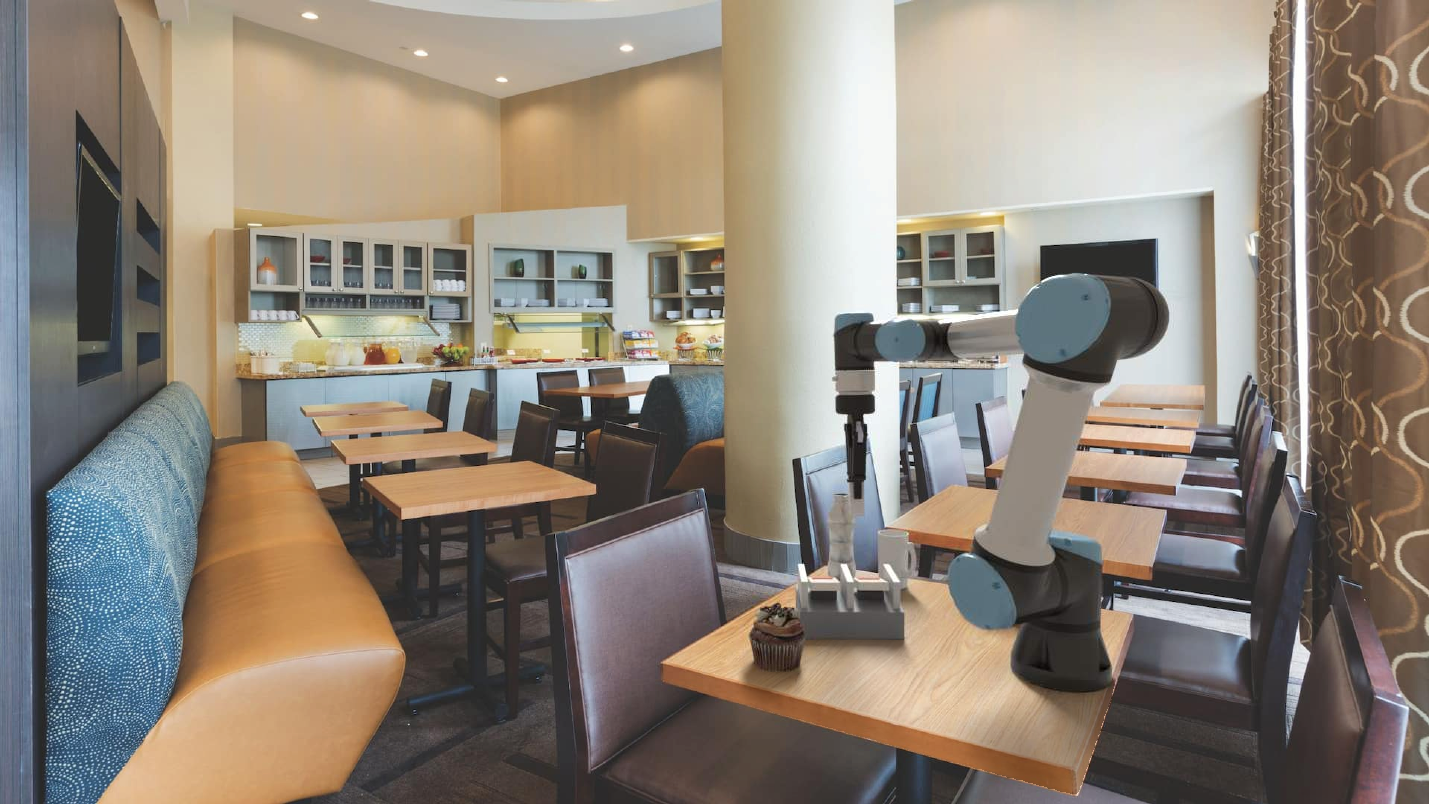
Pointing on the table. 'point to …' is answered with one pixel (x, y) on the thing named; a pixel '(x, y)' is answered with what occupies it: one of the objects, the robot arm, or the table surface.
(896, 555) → the mug
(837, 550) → the plastic bottle
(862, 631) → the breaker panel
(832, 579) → the block
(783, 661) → the cupcake
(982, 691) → the table surface
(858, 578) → the breaker
